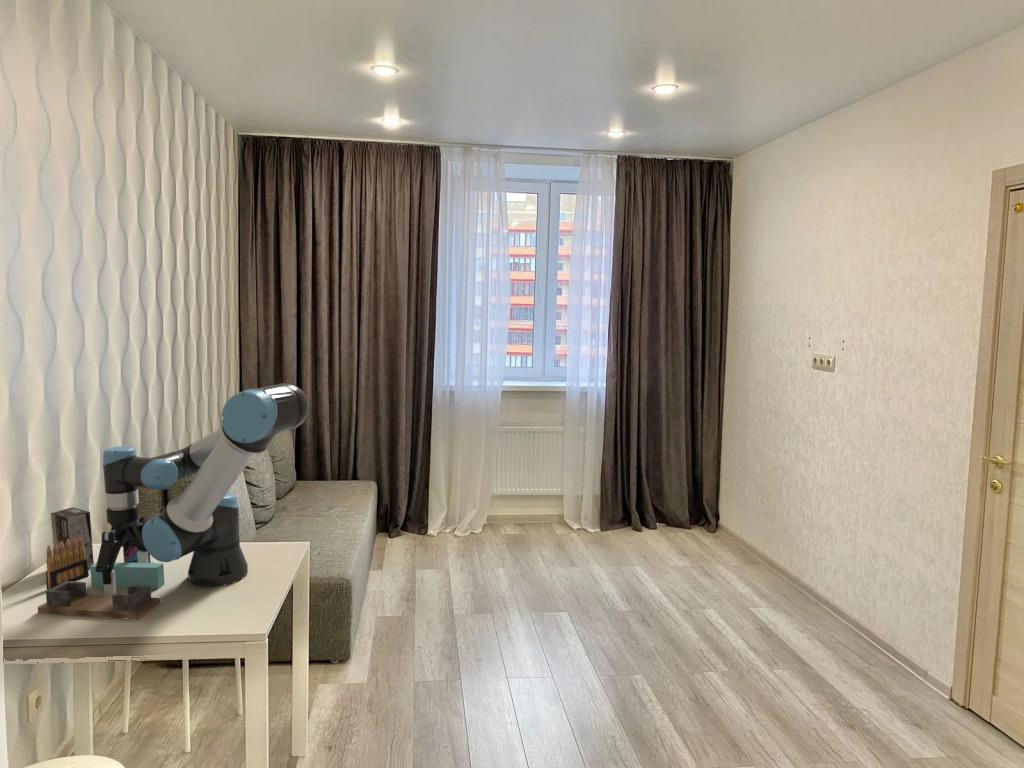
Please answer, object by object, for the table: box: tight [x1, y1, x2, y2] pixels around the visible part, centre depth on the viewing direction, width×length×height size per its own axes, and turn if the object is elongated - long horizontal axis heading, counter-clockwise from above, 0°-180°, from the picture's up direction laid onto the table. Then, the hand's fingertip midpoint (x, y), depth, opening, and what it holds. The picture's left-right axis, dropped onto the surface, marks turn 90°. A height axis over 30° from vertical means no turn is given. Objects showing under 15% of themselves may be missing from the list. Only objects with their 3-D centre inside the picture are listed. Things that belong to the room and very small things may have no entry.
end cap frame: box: [37, 581, 161, 620], centre depth 180 cm, size 26×9×5 cm, turn 82°
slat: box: [89, 561, 166, 590], centre depth 194 cm, size 18×3×6 cm, turn 87°
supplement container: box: [122, 540, 152, 563], centre depth 206 cm, size 7×7×10 cm
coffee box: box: [50, 507, 95, 570], centre depth 205 cm, size 9×6×16 cm
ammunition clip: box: [45, 535, 90, 591], centre depth 195 cm, size 11×2×12 cm, turn 157°
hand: (127, 584), depth 194 cm, fingers open, 13 cm apart
